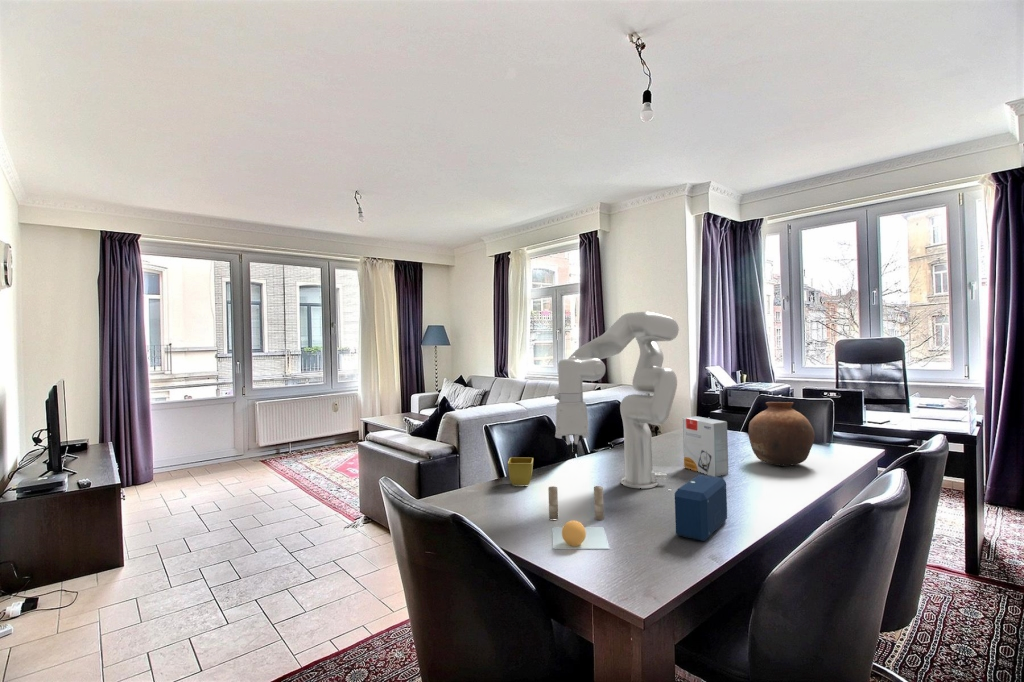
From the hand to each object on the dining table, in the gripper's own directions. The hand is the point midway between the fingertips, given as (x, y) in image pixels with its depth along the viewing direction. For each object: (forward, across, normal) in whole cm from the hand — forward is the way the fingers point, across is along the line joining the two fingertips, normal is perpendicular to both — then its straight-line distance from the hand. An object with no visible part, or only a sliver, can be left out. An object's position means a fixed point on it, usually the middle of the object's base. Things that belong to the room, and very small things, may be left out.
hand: (572, 456), depth 156 cm
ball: (+12, -2, -32) cm, 34 cm away
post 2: (+15, +7, -13) cm, 21 cm away
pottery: (+15, +84, +46) cm, 97 cm away
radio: (+15, +33, -20) cm, 42 cm away
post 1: (+15, -7, -13) cm, 21 cm away
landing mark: (+15, 0, -27) cm, 31 cm away
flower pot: (+15, -18, +21) cm, 32 cm away
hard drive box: (+15, +52, +37) cm, 66 cm away
